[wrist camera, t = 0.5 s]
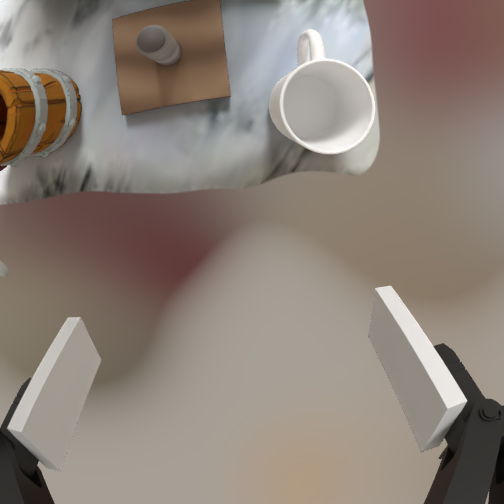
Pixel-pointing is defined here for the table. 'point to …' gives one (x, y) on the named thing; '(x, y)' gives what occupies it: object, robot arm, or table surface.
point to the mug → (35, 113)
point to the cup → (322, 101)
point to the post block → (170, 55)
